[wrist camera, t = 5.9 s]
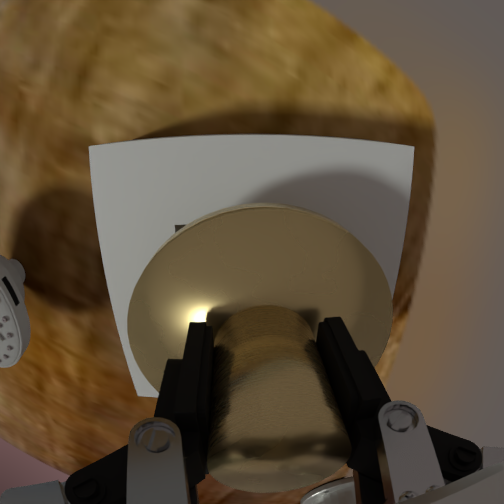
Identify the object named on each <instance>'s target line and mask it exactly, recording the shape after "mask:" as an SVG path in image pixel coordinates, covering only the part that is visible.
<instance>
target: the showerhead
mask: <svg viewBox="0 0 504 504" xmlns="http://www.w3.org/2000/svg"><path fill="white" fill-rule="evenodd" d="M24 280H25V271H24V268H23V266H22V265H21V264H20V262H19V261H17V260H15V259H10V260H7V259H6V258H5V257H3V256H2V255H0V367H10V366H13V365H15V364H16V363H17V362H18V361H19V359H20V358H21V356H22V355H23V353H24V352H25V350H26V348H27V347H28V344H29V341H30V322H29V317H28V313H27V309H26V306H25V304H24V296H25V293H24V286H23V282H24Z"/></svg>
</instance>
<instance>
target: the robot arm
mask: <svg viewBox="0 0 504 504" xmlns="http://www.w3.org/2000/svg"><path fill="white" fill-rule="evenodd" d="M316 345H317V347H318V350H319V353H320V356H321V358H322V361H323V364H324V367H325V370H326V373H327V375H328V378H329V381H330V384H331V387H332V390H333V393H334V395H335V398H336V401H337V404H338V407H339V410H340V413H341V416H342V419H343V422H344V425H345V428H346V431H347V434H348V437H349V440H350V443H351V447H352V451H351V455H350V457H349V459H348V461H347V462H346V463H347V466H348V467H349V468H351V469H353V477H348V478H344V479H340V480H337V481H334V482H331V483H328V484H325V485H322V486H320V487H318V488H316V489H314V490H312V491H310V492H309V493H307V494H306V495H305V496H304V497H303V498H302V499H301V504H504V448H498V447H482V448H481V449H479V447H478V446H477V445H475V444H474V443H473V442H471V441H469V440H466V439H463V438H460V437H457V436H454V435H451V434H449V433H446V432H443V431H440V430H438V429H435V428H433V427H430V426H427V425H426V423H425V420H424V417H423V415H422V413H421V411H420V410H419V409H418V408H417V407H416V406H415V405H413V404H411V403H409V402H406V401H391V400H390V397H389V396H388V394H387V392H386V390H385V388H384V386H383V384H382V382H381V380H380V378H379V376H378V374H377V372H376V370H375V368H374V366H373V365H372V363H371V361H370V359H369V357H368V355H367V353H366V352H365V351H364V350H358V348H357V347H356V345H355V343H354V341H353V339H352V337H351V335H350V333H349V331H348V329H347V327H346V325H345V323H344V322H343V320H342V318H341V317H326V318H324V320H323V322H319V324H318V330H317V338H316ZM213 358H214V340H213V328H212V326H207V325H206V322H190V323H189V328H188V333H187V338H186V343H185V348H184V354H183V359H168V360H167V362H166V366H165V370H164V374H163V378H162V383H161V387H160V391H159V396H158V400H157V405H156V409H155V414H154V417H152V418H146V419H144V420H141V421H139V422H138V423H137V424H136V425H134V427H133V428H132V429H131V431H130V434H129V441H128V444H127V445H125V446H124V447H122V448H120V449H118V450H116V451H115V452H113V453H111V454H109V455H107V456H105V457H104V458H102V459H100V460H98V461H96V462H94V463H92V464H90V465H88V466H86V467H84V468H82V469H80V470H78V471H76V472H75V473H73V474H72V475H70V477H69V478H68V479H67V481H66V482H62V483H60V482H59V481H58V480H56V481H52V482H46V483H41V484H35V485H30V486H23V487H16V488H10V489H7V490H5V491H4V492H3V493H2V495H1V497H0V504H199V497H198V490H197V484H198V483H199V482H201V481H202V480H203V479H205V474H209V471H208V467H207V457H208V439H209V426H210V407H211V389H212V373H213Z"/></svg>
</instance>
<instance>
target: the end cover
mask: <svg viewBox="0 0 504 504" xmlns="http://www.w3.org/2000/svg"><path fill="white" fill-rule="evenodd" d="M326 317H341V318H342V320H343V322H344V323H345V325H346V327H347V329H348V331H349V333H350V335H351V337H352V339H353V341H354V343H355V345H356V347H357V348H358V350H364V351H365V352H366V353H367V355H368V357H369V359H370V361H371V363H372V365H373V366H374V367H375V366H376V365H377V363H378V362H379V360H380V358H381V356H382V354H383V352H384V350H385V347H386V345H387V342H388V339H389V336H390V331H391V326H392V317H393V305H392V295H391V291H390V288H389V284H388V281H387V279H386V276H385V274H384V272H383V270H382V268H381V266H380V265H379V263H378V262H377V260H376V259H375V257H374V256H373V255H372V253H371V252H370V251H369V250H368V249H367V248H366V247H365V246H364V245H363V244H362V243H361V242H360V241H359V240H358V239H357V238H356V237H355V236H354V235H353V234H352V233H350V232H349V231H348V230H347V229H345V228H344V227H342V226H341V225H340V224H338V223H337V222H335V221H333V220H332V219H330V218H328V217H326V216H324V215H322V214H320V213H317V212H314V211H311V210H309V209H306V208H303V207H298V206H293V205H288V204H280V203H251V204H241V205H237V206H232V207H227V208H223V209H220V210H217V211H215V212H212V213H209V214H206V215H204V216H202V217H200V218H198V219H196V220H194V221H192V222H190V223H189V224H187V225H186V226H184V227H183V228H181V229H180V230H179V231H177V232H176V233H174V234H173V235H172V236H171V237H170V238H169V239H168V240H167V241H166V242H165V243H164V244H163V245H161V246H160V247H159V249H158V250H157V251H156V253H155V254H154V255H153V257H152V258H151V259H150V261H149V262H148V264H147V266H146V267H145V269H144V271H143V272H142V274H141V276H140V278H139V280H138V282H137V284H136V286H135V288H134V290H133V293H132V296H131V300H130V303H129V309H128V315H127V333H128V339H129V344H130V348H131V351H132V354H133V356H134V359H135V361H136V363H137V365H138V367H139V369H140V371H141V372H142V374H143V375H144V376H145V378H146V379H147V381H148V382H149V383H150V384H151V385H152V386H153V387H154V388H155V390H156V391H157V392H158V393H159V391H160V387H161V383H162V378H163V374H164V370H165V366H166V362H167V360H168V359H183V354H184V348H185V343H186V338H187V333H188V328H189V323H190V322H206V325H207V326H212V328H213V340H214V358H213V373H212V389H211V407H210V426H209V439H208V457H207V467H208V471H209V473H210V474H211V475H212V477H214V478H215V479H216V480H217V481H219V482H220V483H222V484H224V485H226V486H229V487H231V488H235V489H238V490H243V491H249V492H265V493H269V492H282V491H289V490H294V489H298V488H302V487H305V486H309V485H311V484H314V483H317V482H319V481H321V480H323V479H325V478H327V477H329V476H331V475H332V474H334V473H335V472H336V471H338V470H339V469H340V468H341V467H342V466H343V465H344V464H345V463H346V462H347V461H348V459H349V457H350V455H351V451H352V447H351V443H350V440H349V437H348V434H347V431H346V428H345V425H344V422H343V419H342V416H341V413H340V410H339V407H338V404H337V401H336V398H335V395H334V393H333V390H332V387H331V384H330V381H329V378H328V375H327V373H326V370H325V367H324V364H323V361H322V358H321V356H320V353H319V350H318V347H317V345H316V338H317V330H318V324H319V322H323V320H324V318H326Z"/></svg>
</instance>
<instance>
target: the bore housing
mask: <svg viewBox="0 0 504 504" xmlns="http://www.w3.org/2000/svg"><path fill="white" fill-rule="evenodd" d="M89 157H90V170H91V182H92V192H93V201H94V209H95V217H96V224H97V231H98V237H99V243H100V249H101V255H102V261H103V266H104V271H105V276H106V281H107V286H108V291H109V295H110V300H111V304H112V308H113V312H114V316H115V320H116V324H117V328H118V332H119V336H120V339H121V343H122V346H123V350H124V353H125V357H126V360H127V364H128V367H129V370H130V373H131V376H132V379H133V382H134V385H135V388H136V391H137V394H138V396H146V397H158V396H159V393H158V392H157V391H156V390H155V388H154V387H153V386H152V385H151V384H150V383H149V382H148V381H147V379H146V378H145V376H144V375H143V374H142V372H141V371H140V369H139V367H138V365H137V363H136V361H135V359H134V356H133V354H132V351H131V348H130V344H129V339H128V333H127V315H128V309H129V303H130V300H131V296H132V293H133V290H134V288H135V286H136V284H137V282H138V280H139V278H140V276H141V274H142V272H143V271H144V269H145V267H146V266H147V264H148V262H149V261H150V259H151V258H152V257H153V255H154V254H155V253H156V251H157V250H158V249H159V247H160V246H161V245H163V244H164V243H165V242H166V241H167V240H168V239H169V238H170V237H171V236H172V235H173V234H174V233H176V232H177V231H179V230H180V229H181V228H183V227H184V226H186V225H187V224H189V223H190V222H192V221H194V220H196V219H198V218H200V217H202V216H204V215H206V214H209V213H212V212H215V211H217V210H220V209H223V208H227V207H232V206H237V205H241V204H251V203H280V204H288V205H293V206H298V207H303V208H306V209H309V210H311V211H314V212H317V213H320V214H322V215H324V216H326V217H328V218H330V219H332V220H333V221H335V222H337V223H338V224H340V225H341V226H342V227H344V228H345V229H347V230H348V231H349V232H350V233H352V234H353V235H354V236H355V237H356V238H357V239H358V240H359V241H360V242H361V243H362V244H363V245H364V246H365V247H366V248H367V249H368V250H369V251H370V252H371V253H372V255H373V256H374V257H375V259H376V260H377V262H378V263H379V265H380V266H381V268H382V270H383V272H384V274H385V276H386V279H387V281H388V284H389V288H390V291H391V295H392V299H393V295H394V290H395V286H396V281H397V276H398V271H399V266H400V260H401V255H402V249H403V243H404V237H405V231H406V224H407V217H408V209H409V201H410V193H411V183H412V172H413V160H414V146H408V145H401V144H395V143H388V142H380V141H373V140H364V139H354V138H343V137H329V136H313V135H290V134H212V135H189V136H172V137H159V138H147V139H137V140H128V141H121V142H114V143H107V144H101V145H94V146H89Z"/></svg>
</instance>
